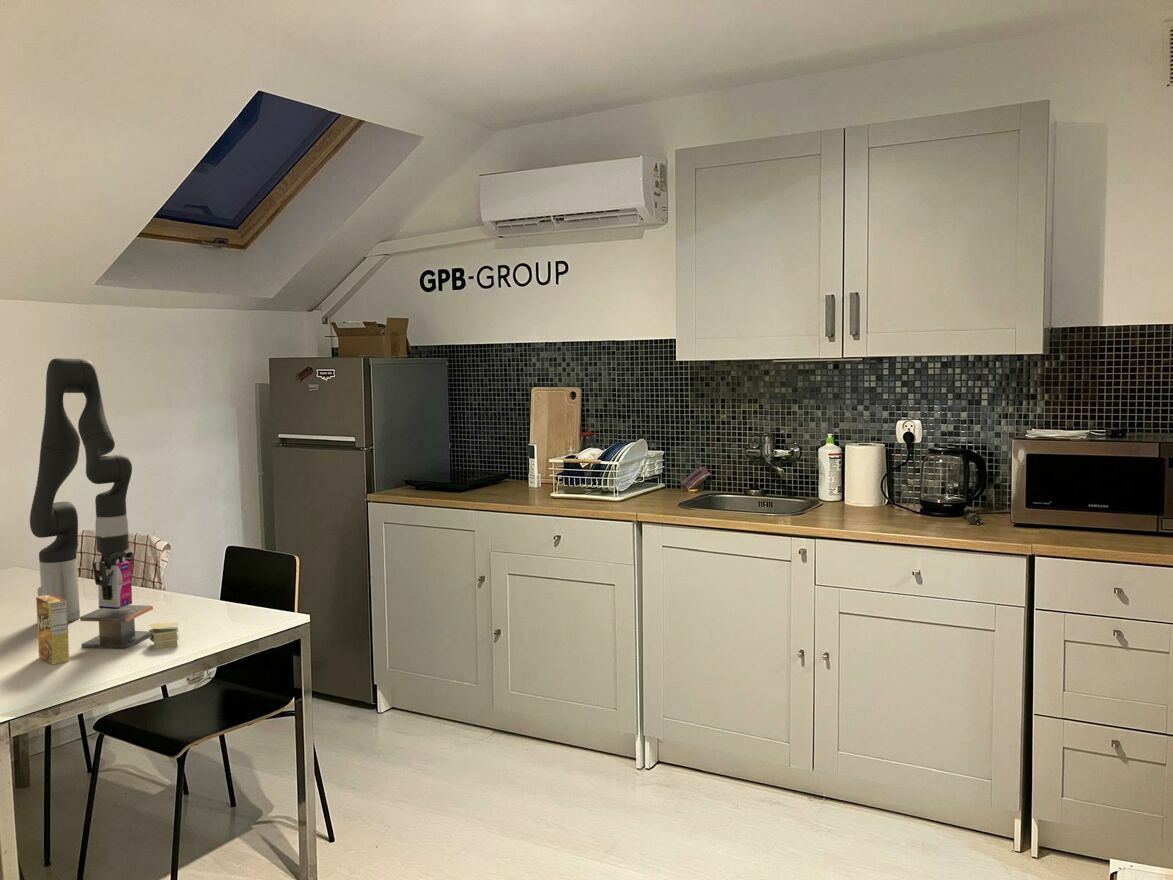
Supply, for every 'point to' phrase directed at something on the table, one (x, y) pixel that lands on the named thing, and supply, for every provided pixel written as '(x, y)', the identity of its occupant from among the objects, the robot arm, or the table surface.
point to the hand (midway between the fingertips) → (115, 596)
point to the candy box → (52, 629)
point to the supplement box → (118, 587)
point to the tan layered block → (164, 634)
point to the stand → (116, 627)
